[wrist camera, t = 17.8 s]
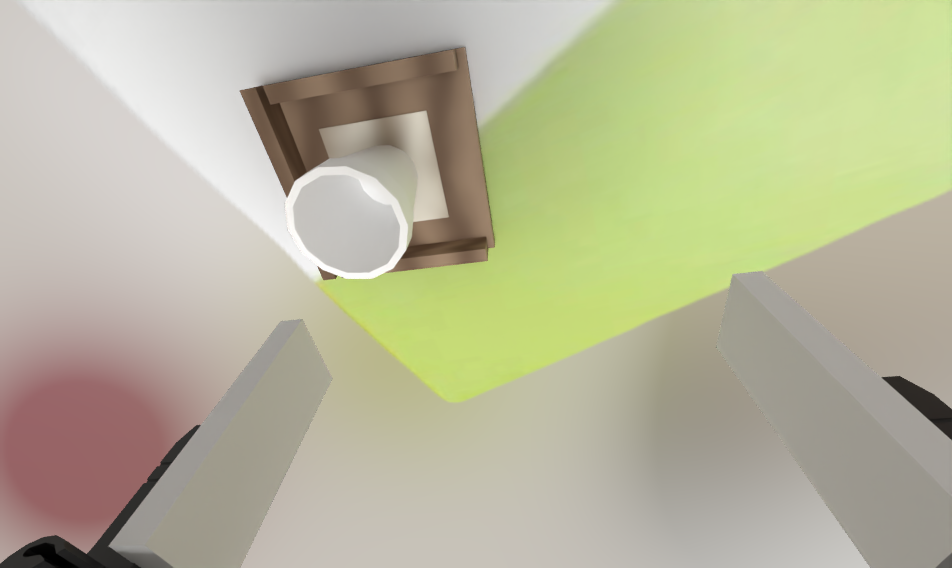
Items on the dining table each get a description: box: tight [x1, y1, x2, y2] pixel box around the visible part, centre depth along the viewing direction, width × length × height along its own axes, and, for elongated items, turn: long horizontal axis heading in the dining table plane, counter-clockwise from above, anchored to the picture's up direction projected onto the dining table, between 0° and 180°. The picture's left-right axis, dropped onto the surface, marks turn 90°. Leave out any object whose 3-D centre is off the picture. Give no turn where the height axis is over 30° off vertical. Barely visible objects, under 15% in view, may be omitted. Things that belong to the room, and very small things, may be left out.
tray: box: [240, 47, 495, 280], centre depth 40 cm, size 20×20×4 cm
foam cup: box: [285, 145, 418, 279], centre depth 35 cm, size 10×9×13 cm
